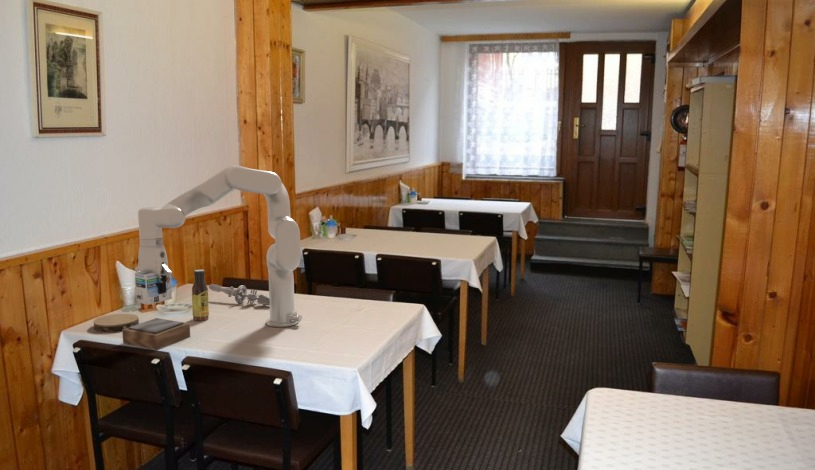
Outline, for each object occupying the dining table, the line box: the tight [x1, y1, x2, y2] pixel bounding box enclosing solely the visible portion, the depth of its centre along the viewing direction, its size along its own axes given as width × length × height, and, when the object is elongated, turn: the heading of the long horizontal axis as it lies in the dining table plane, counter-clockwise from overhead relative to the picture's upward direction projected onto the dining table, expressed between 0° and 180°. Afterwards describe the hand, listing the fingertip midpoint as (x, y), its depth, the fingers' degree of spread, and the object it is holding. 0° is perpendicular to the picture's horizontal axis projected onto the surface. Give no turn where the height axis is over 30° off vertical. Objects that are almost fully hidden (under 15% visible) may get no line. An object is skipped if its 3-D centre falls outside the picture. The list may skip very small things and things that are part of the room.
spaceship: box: [208, 283, 270, 307], centre depth 290 cm, size 8×35×8 cm
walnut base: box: [121, 317, 191, 351], centre depth 240 cm, size 16×16×6 cm
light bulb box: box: [134, 269, 173, 306], centre depth 237 cm, size 11×7×11 cm, turn 148°
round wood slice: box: [93, 313, 140, 333], centre depth 257 cm, size 16×16×3 cm
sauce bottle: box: [191, 269, 210, 322], centre depth 264 cm, size 7×6×20 cm
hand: (154, 291), depth 237 cm, fingers closed on light bulb box, 7 cm apart
